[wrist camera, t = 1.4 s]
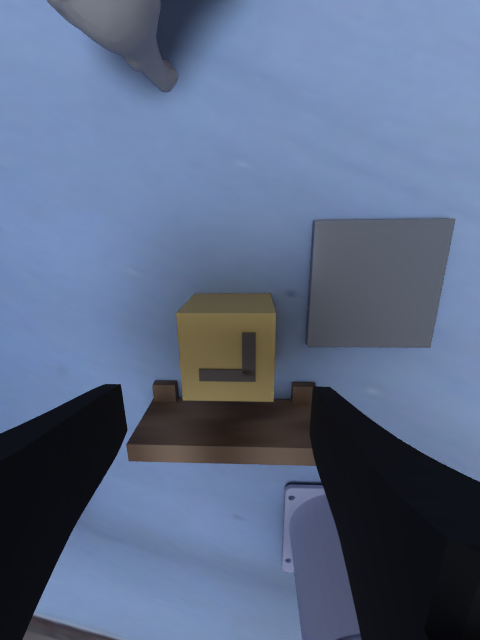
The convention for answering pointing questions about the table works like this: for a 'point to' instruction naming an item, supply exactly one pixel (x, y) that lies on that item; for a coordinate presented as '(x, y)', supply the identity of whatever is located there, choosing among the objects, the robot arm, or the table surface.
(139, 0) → the dog figurine
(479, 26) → the table surface
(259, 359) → the cube
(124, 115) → the table surface
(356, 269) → the coaster
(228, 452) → the wooden board
